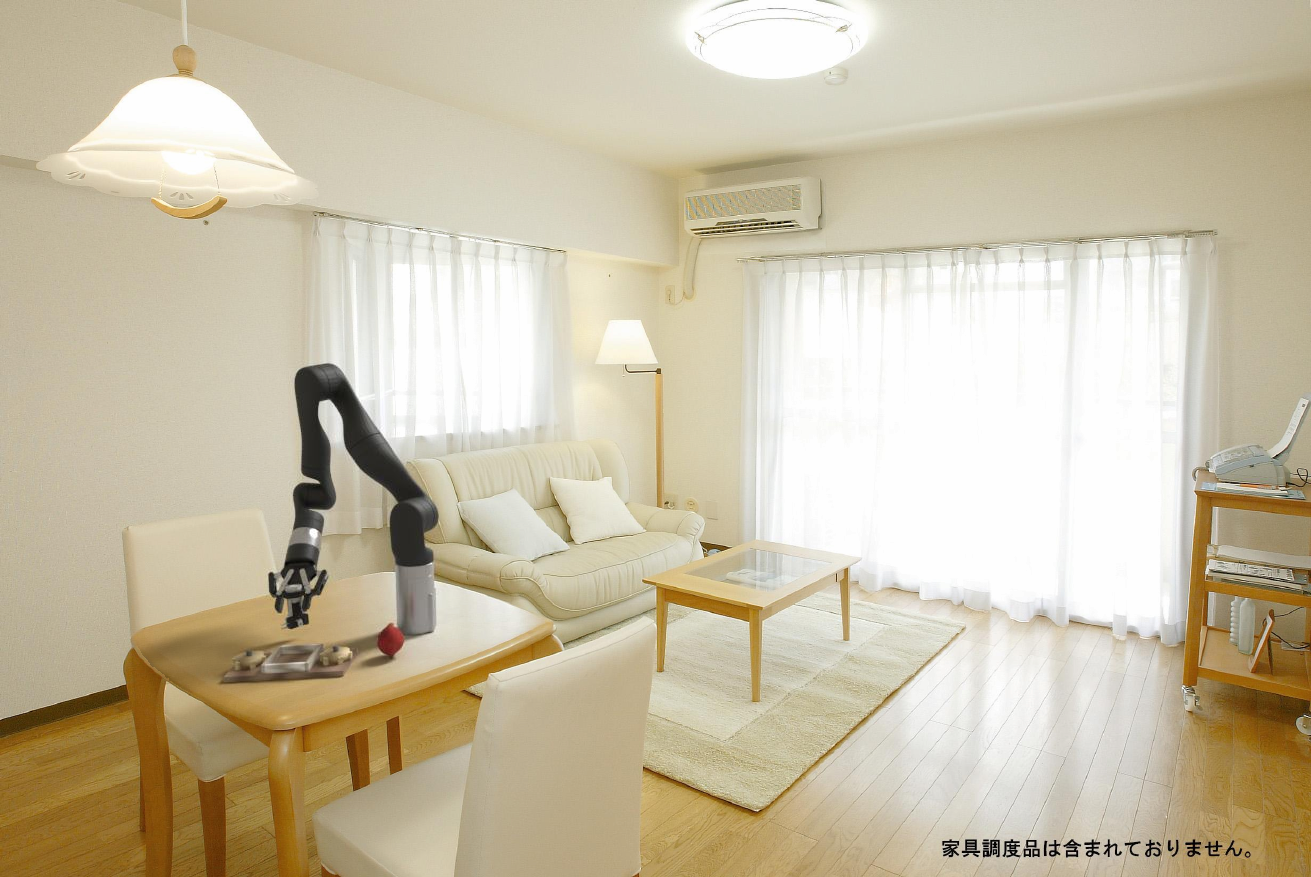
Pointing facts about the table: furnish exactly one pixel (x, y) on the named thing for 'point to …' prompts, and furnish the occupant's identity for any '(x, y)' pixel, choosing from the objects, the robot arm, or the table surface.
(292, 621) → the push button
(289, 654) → the gear board
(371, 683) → the table surface
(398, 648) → the onion
